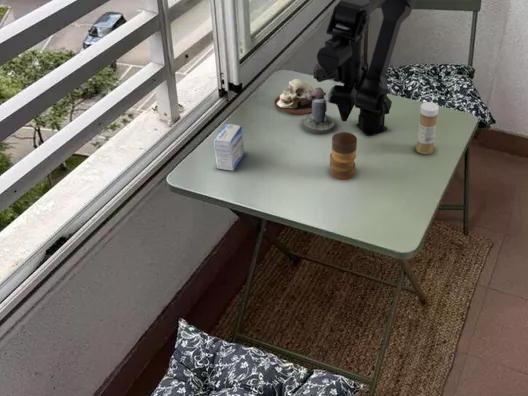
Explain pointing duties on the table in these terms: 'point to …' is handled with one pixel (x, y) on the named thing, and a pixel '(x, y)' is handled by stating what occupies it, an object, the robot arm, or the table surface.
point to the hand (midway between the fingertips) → (348, 111)
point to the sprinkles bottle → (427, 127)
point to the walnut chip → (344, 143)
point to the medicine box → (229, 147)
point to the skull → (295, 98)
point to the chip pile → (342, 169)
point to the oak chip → (343, 157)
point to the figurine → (318, 114)
